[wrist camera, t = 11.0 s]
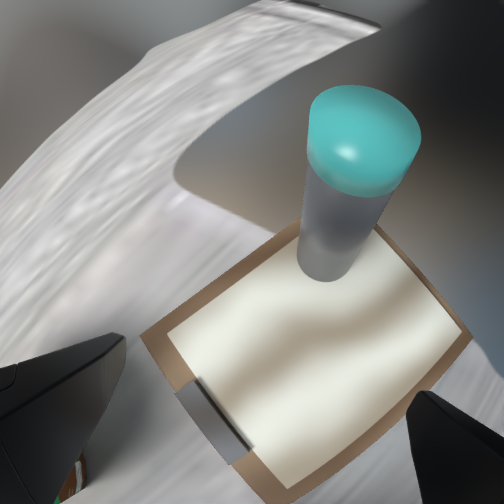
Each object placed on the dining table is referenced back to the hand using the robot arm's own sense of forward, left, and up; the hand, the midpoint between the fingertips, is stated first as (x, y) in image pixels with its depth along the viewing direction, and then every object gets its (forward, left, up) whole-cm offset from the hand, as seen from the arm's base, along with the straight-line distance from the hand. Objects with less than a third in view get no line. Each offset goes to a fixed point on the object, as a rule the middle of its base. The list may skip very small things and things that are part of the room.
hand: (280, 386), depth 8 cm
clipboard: (0, -3, -13) cm, 13 cm away
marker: (+5, -8, -12) cm, 15 cm away
